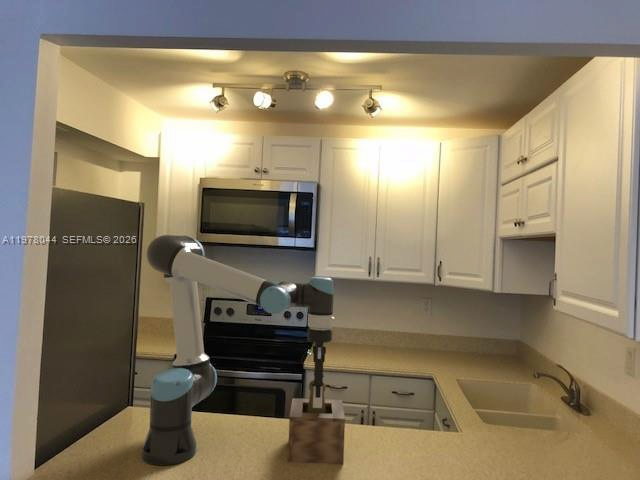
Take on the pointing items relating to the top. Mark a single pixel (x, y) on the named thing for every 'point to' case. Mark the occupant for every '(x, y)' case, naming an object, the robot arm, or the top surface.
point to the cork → (310, 405)
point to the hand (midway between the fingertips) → (317, 402)
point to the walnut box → (316, 433)
